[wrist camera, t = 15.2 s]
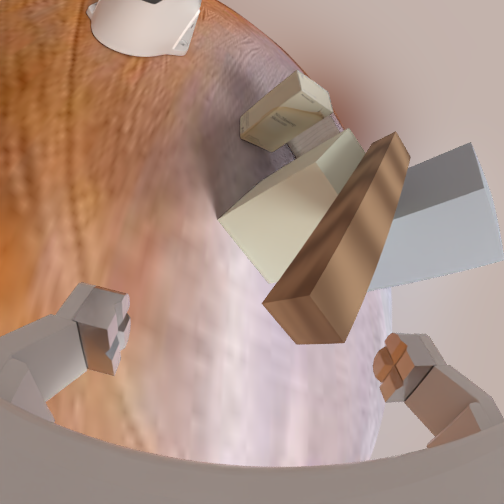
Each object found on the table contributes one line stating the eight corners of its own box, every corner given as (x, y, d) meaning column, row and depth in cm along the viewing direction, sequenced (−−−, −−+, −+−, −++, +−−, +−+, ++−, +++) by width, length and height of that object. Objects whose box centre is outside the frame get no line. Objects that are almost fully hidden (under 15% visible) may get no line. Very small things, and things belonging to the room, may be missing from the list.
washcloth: (344, 152, 58) (355, 146, 56) (310, 186, 48) (324, 179, 45) (312, 106, 56) (322, 98, 53) (268, 126, 45) (281, 117, 43)
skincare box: (238, 138, 39) (299, 90, 30) (239, 116, 41) (295, 68, 31) (273, 153, 43) (334, 113, 34) (272, 131, 44) (329, 91, 35)
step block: (268, 283, 37) (375, 256, 25) (217, 219, 34) (315, 162, 23) (303, 236, 43) (394, 202, 31) (261, 180, 40) (348, 127, 29)
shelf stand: (343, 295, 45) (504, 260, 26) (310, 247, 43) (484, 188, 23) (370, 237, 55) (492, 197, 35) (344, 195, 53) (470, 142, 33)
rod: (296, 344, 17) (344, 343, 14) (261, 303, 16) (309, 295, 13) (386, 167, 32) (410, 157, 30) (372, 143, 32) (395, 131, 29)
